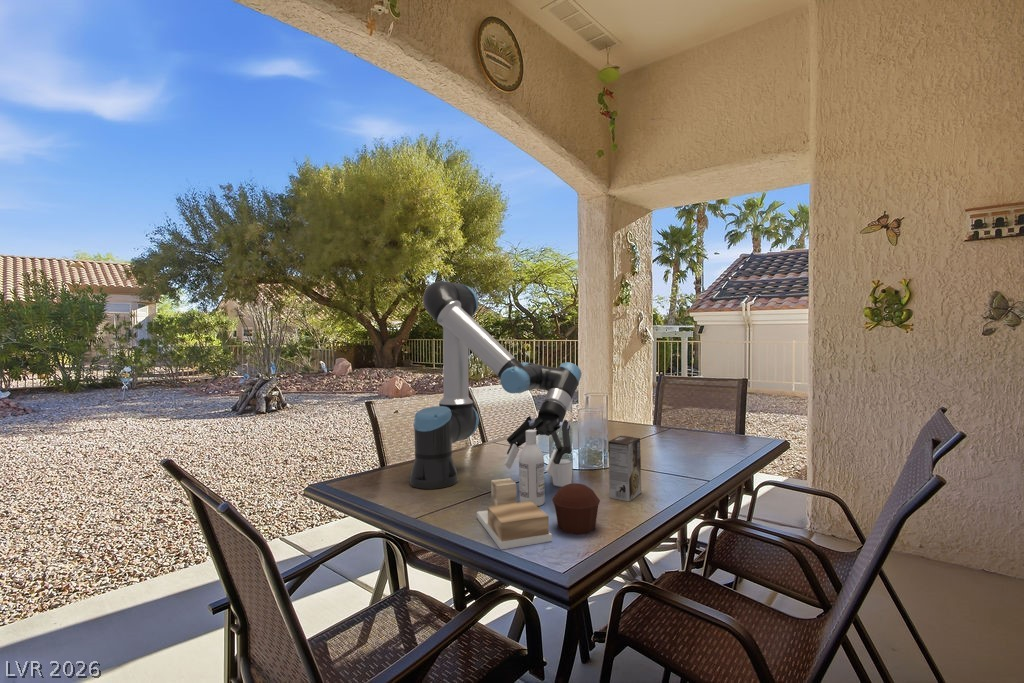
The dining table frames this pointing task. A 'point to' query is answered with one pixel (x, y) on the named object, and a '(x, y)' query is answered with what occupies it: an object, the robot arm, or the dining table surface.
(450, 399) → the robot arm
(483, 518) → the base board
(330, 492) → the dining table surface
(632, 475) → the coffee box
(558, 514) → the muffin
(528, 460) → the bath foam
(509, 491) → the beech post
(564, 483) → the white cup
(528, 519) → the oak plinth
